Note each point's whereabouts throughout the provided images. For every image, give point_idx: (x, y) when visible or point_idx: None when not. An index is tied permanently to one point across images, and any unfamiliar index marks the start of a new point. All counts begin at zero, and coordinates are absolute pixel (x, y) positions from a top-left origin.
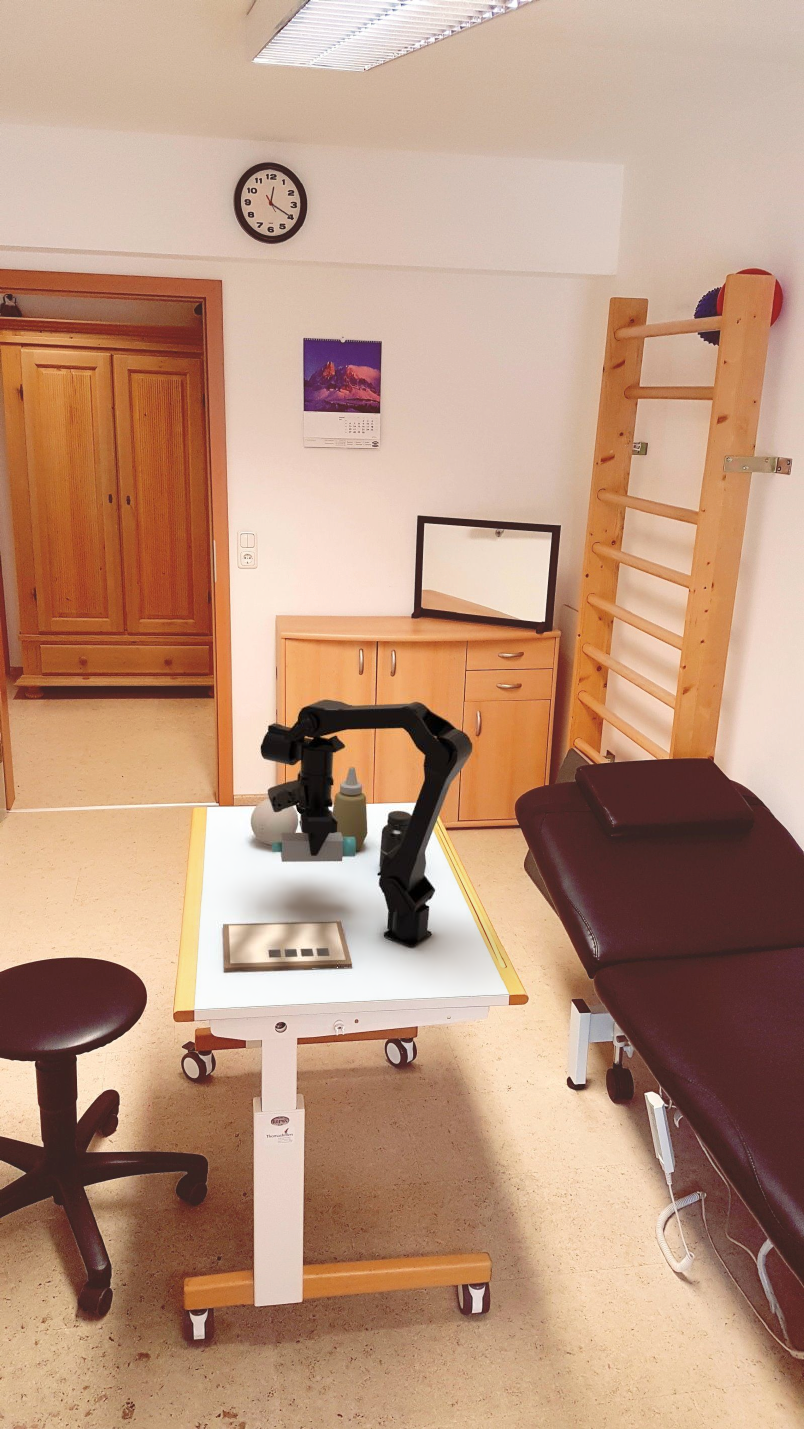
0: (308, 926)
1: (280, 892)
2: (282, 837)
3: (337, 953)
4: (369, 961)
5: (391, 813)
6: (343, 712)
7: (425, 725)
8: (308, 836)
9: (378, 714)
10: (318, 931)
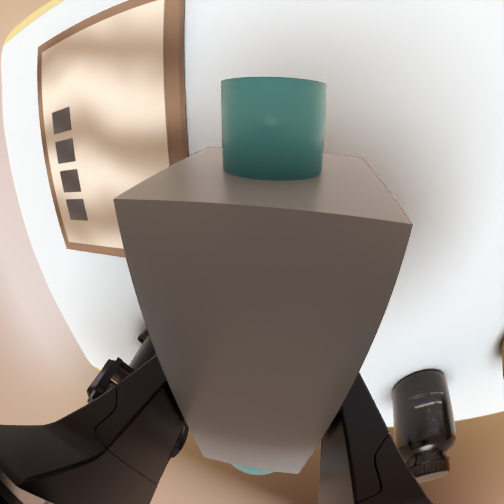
0: None
1: (403, 146)
2: (223, 210)
3: (79, 233)
4: (92, 273)
5: (441, 472)
6: None
7: None
8: (81, 408)
9: None
10: None
